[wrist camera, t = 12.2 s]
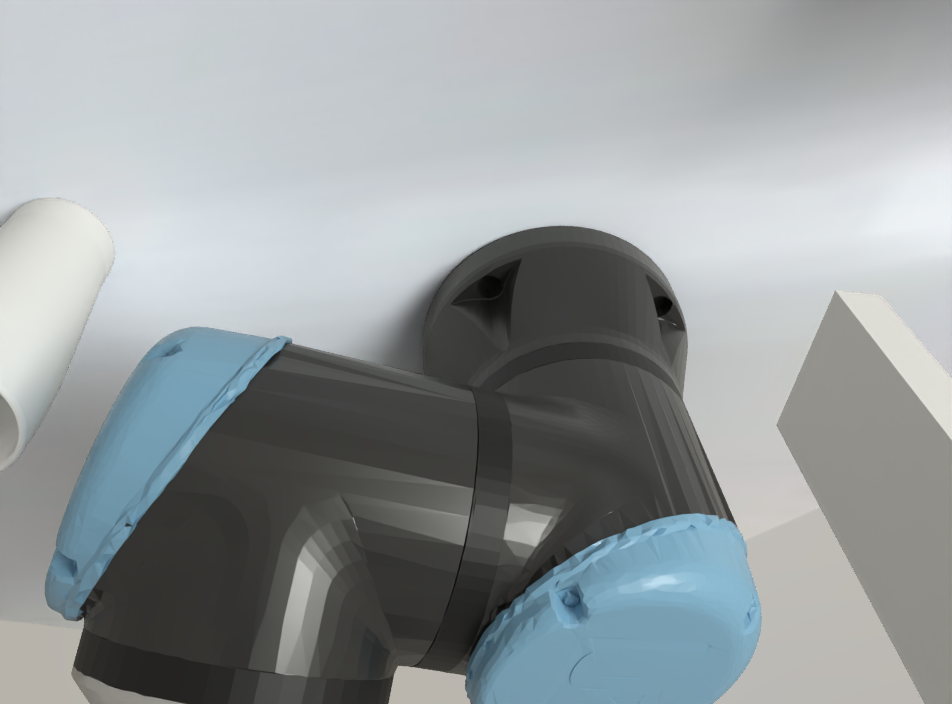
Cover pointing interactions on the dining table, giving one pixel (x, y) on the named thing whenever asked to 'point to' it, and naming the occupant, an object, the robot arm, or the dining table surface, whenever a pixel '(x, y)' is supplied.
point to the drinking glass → (44, 307)
